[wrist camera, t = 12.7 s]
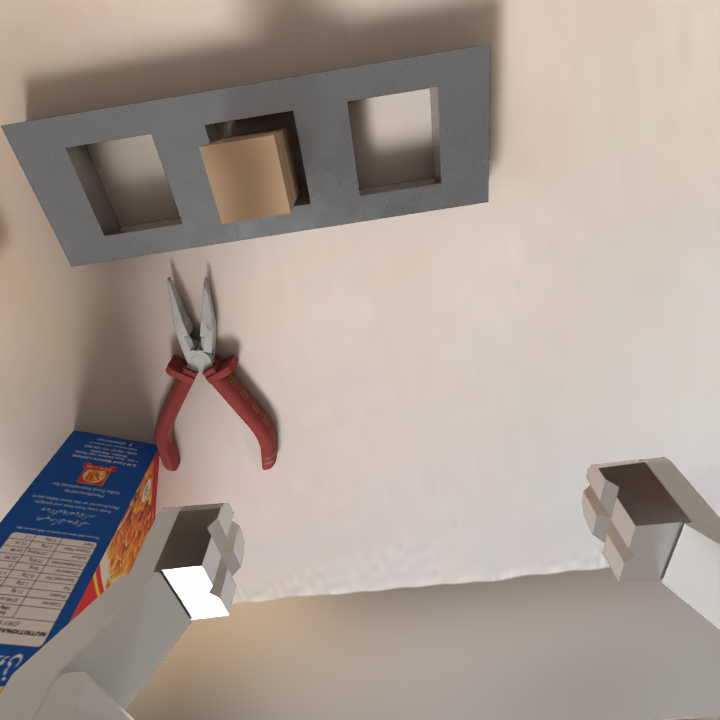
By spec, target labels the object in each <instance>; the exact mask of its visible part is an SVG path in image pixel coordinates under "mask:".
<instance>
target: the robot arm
mask: <svg viewBox="0 0 720 720" xmlns="http://www.w3.org/2000/svg"><path fill="white" fill-rule="evenodd" d="M586 478H587V480H588V481H589V483H590V486H589V487H588V488H587V489H585V490H584V491H583V498H582V506H583V512H584V516H585V519H586V522H587V524H588V526H589V528H590V530H591V532H592V534H593V535H594V536H596V537H597V538H599V539H600V540H601V541H603V542H604V543H605V545H604V549H603V555H604V557H605V558H606V560H607V562H608V564H609V566H610V568H611V569H612V571H613V573H614V575H615V577H616V579H617V580H618V582H634V581H635V582H636V581H654V580H662V583H663V584H664V585H666V586H667V587H668V588H669V589H671V590H672V591H673V592H674V593H675V594H677V595H678V596H679V597H680V598H682V599H683V600H684V601H685V602H687V603H688V604H689V605H690V606H691V607H693V608H694V609H695V610H696V611H698V612H699V613H700V614H701V615H703V616H704V617H705V618H706V619H707V620H709V621H710V622H711V623H712V624H714V625H715V626H716V627H717V628H718V629H720V517H719V516H718V515H717V514H716V513H715V512H714V511H713V509H712V508H711V507H710V506H709V505H708V504H707V502H706V501H705V500H704V499H703V498H702V497H701V496H700V494H699V493H698V492H697V491H696V490H695V489H694V487H693V486H692V485H691V484H690V483H689V482H688V481H687V479H686V478H685V477H684V476H683V475H682V474H681V472H680V471H679V470H678V469H677V468H676V467H675V466H674V464H673V463H672V462H671V461H670V460H668V459H667V458H665V457H661V458H651V459H642V460H630V461H621V462H613V463H604V464H595V465H591V466H590V467H589V468H588V471H587V475H586ZM233 514H234V512H233V510H232V508H231V506H230V504H229V503H220V504H206V505H193V506H183V507H171V508H163V509H162V510H161V511H160V512H159V513H158V514H157V516H156V518H155V520H154V522H153V525H152V527H151V529H150V531H149V533H148V535H147V537H146V539H145V541H144V543H143V545H142V548H141V550H140V552H139V554H138V556H137V558H136V560H135V562H134V564H133V566H132V569H131V571H130V573H129V574H127V575H122V576H121V577H120V578H118V579H117V580H116V581H115V582H114V583H113V584H112V585H111V586H110V587H109V588H107V589H106V590H105V591H104V592H103V593H102V594H101V595H100V596H99V597H97V598H96V599H95V600H94V601H93V602H92V603H91V604H90V605H89V606H87V607H86V608H85V609H84V610H83V611H82V612H81V613H80V614H79V615H77V616H76V617H75V618H74V619H73V620H72V621H71V622H70V623H69V624H68V625H66V626H65V627H64V628H63V629H62V630H61V631H60V632H59V633H58V634H56V635H55V636H54V637H53V638H52V639H51V640H50V641H49V642H48V643H46V644H45V645H44V646H43V647H42V648H41V649H40V650H39V651H38V652H37V653H35V654H34V655H33V656H32V657H31V658H30V659H29V660H28V661H27V662H25V663H24V664H23V665H22V666H21V667H20V668H19V669H18V670H17V671H15V672H14V673H13V674H12V675H11V677H10V679H9V681H8V682H7V684H6V686H5V687H4V689H3V691H2V692H1V694H0V720H134V719H133V718H132V717H131V716H130V715H129V714H128V713H127V712H126V711H125V710H126V708H127V707H128V706H129V704H130V703H131V702H132V700H133V699H134V698H135V696H136V695H137V694H138V693H139V691H140V690H141V689H142V687H143V686H144V685H145V683H146V682H147V681H148V679H149V678H150V677H151V675H152V674H153V673H154V671H155V670H156V669H157V667H158V666H159V665H160V663H161V662H162V661H163V659H164V658H165V657H166V655H167V654H168V653H169V651H170V650H171V649H172V647H173V646H174V645H175V643H176V642H177V641H178V640H179V638H180V637H181V636H182V634H183V633H184V632H185V630H186V629H187V628H188V626H189V625H190V624H191V622H192V621H191V620H192V619H201V618H209V617H217V616H227V615H229V613H230V608H231V605H232V601H233V597H234V593H235V589H236V584H235V582H234V580H233V578H232V576H233V575H234V574H235V573H236V572H237V570H238V569H239V568H240V567H241V564H242V559H243V555H244V539H243V533H242V530H241V528H240V526H239V525H238V524H237V523H235V522H233V521H232V517H233ZM655 720H720V715H719V716H703V717H688V718H671V719H655Z"/></svg>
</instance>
